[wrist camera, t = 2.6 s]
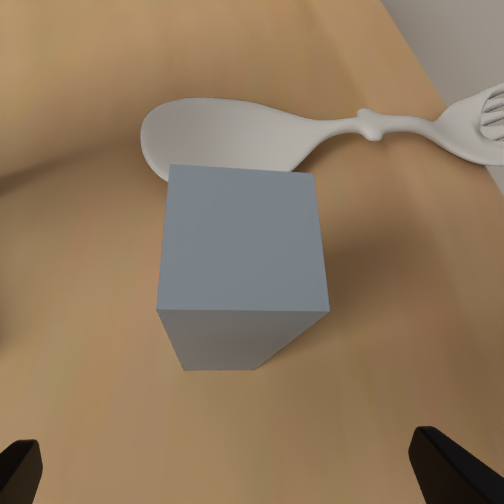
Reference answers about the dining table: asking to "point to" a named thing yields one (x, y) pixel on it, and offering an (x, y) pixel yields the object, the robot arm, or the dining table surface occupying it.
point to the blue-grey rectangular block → (239, 264)
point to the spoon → (304, 132)
